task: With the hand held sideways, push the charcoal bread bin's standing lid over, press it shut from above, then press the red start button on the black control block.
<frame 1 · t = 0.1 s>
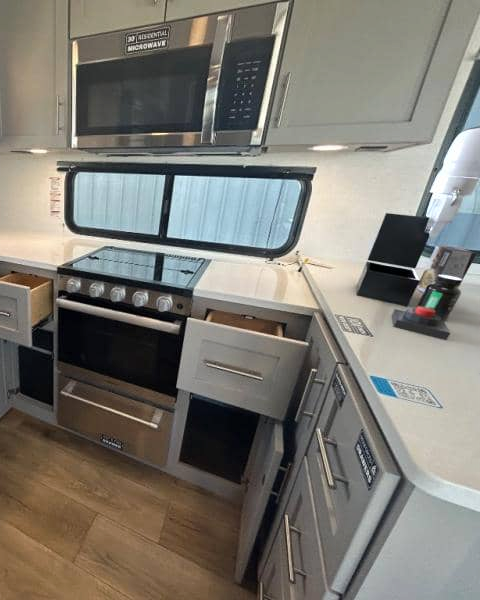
hand: (430, 234, 101), 21 cm above the countertop, tool pointing down, fingers open, 8 cm apart
bread bin: (379, 294, 111), on the countertop
bin lid: (400, 240, 111), point 17 cm above the countertop, hinge at 100.0°
control block: (416, 327, 88), on the countertop
supplement bottle: (429, 316, 96), on the countertop
coffee box: (432, 294, 116), on the countertop
start button: (424, 312, 86), point 5 cm above the countertop, slide at 0.2 cm
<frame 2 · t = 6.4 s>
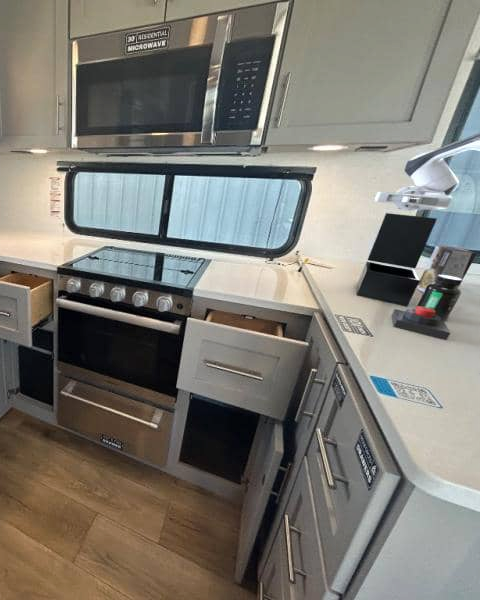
hand: (413, 200, 115), 30 cm above the countertop, tool horizontal, fingers closed
nothing on the countertop moved.
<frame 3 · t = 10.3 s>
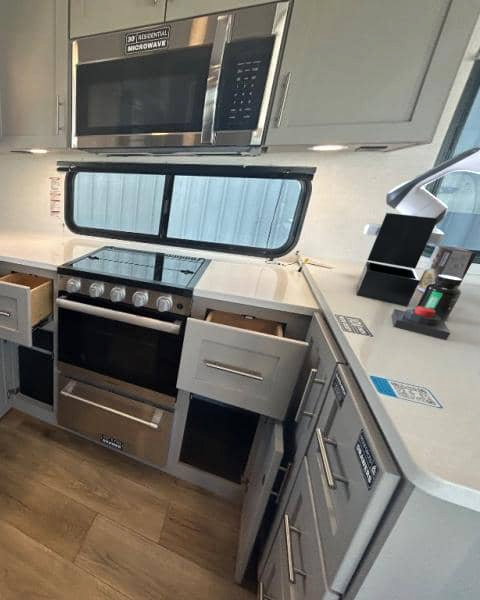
hand: (402, 235, 110), 19 cm above the countertop, tool horizontal, fingers closed, pressing on bin lid
bin lid: (400, 240, 110), point 17 cm above the countertop, hinge at 94.0°, touching gripper
everything else where it was.
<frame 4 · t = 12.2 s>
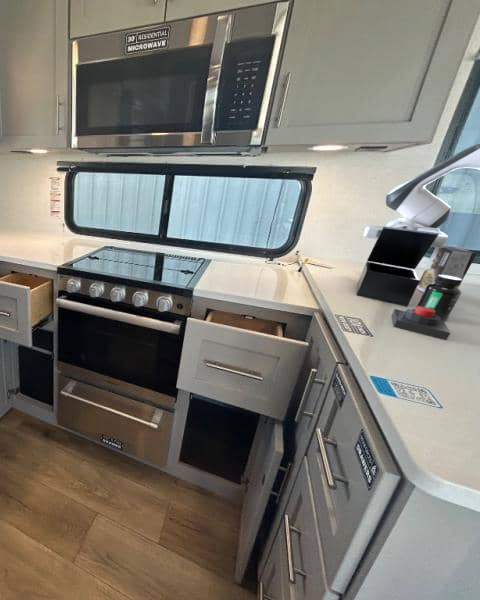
hand: (404, 239, 104), 19 cm above the countertop, tool horizontal, fingers closed
bin lid: (399, 248, 107), point 16 cm above the countertop, hinge at 51.4°, touching gripper
everything else where it was.
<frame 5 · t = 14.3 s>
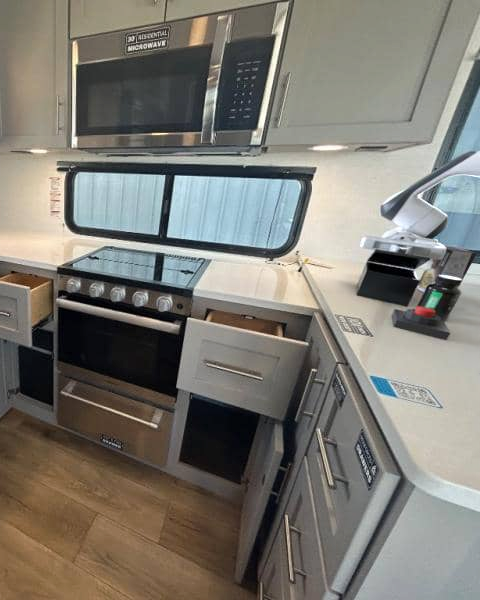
hand: (402, 250, 102), 16 cm above the countertop, tool horizontal, fingers closed
bin lid: (395, 259, 106), point 12 cm above the countertop, hinge at 21.7°
everything else where it was.
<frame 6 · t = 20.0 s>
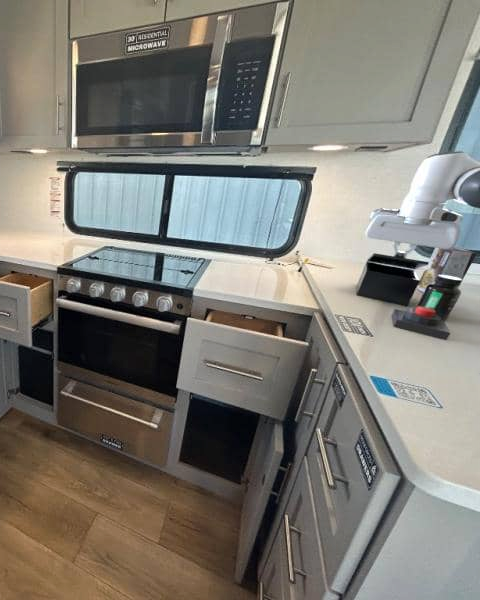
hand: (398, 257, 102), 14 cm above the countertop, tool pointing down, fingers closed
bin lid: (394, 261, 106), point 12 cm above the countertop, hinge at 17.1°, touching gripper
everything else where it was.
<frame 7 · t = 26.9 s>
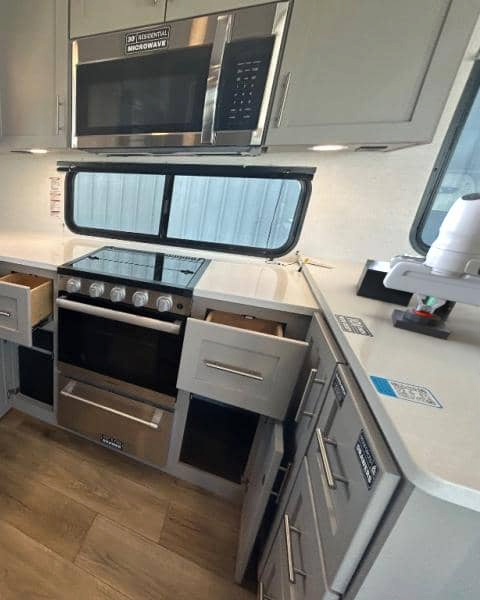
hand: (423, 312, 86), 4 cm above the countertop, tool pointing down, fingers closed, pressing on start button
bin lid: (391, 269, 107), point 9 cm above the countertop, hinge at -0.2°, touching bread bin
start button: (422, 315, 87), point 4 cm above the countertop, slide at -0.8 cm, touching gripper
everything else where it was.
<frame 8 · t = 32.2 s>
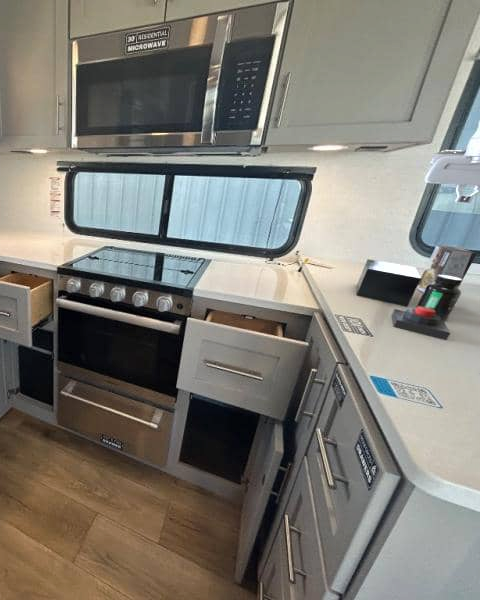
hand: (462, 202, 96), 31 cm above the countertop, tool pointing down, fingers closed
start button: (424, 312, 86), point 5 cm above the countertop, slide at 0.1 cm
everything else where it was.
at the end: bin lid at +0° (first picture: +100°); start button pushed in 1.0 cm at the most during the clip, back to where it started at the end; start button slide at 0.1 cm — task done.
